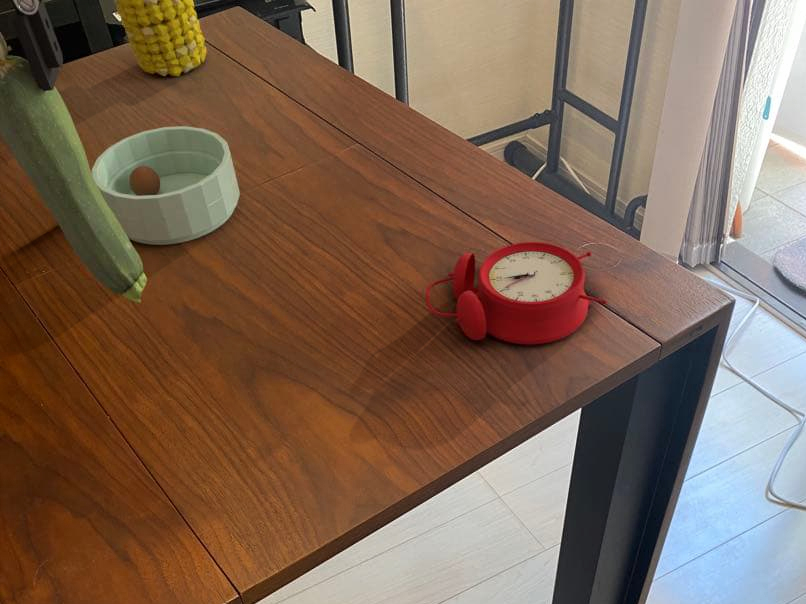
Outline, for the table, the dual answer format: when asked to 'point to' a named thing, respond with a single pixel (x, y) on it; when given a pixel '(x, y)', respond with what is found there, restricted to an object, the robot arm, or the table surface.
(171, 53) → the food
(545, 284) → the alarm clock
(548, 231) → the table surface
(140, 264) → the vegetable
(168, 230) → the bowl
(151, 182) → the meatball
